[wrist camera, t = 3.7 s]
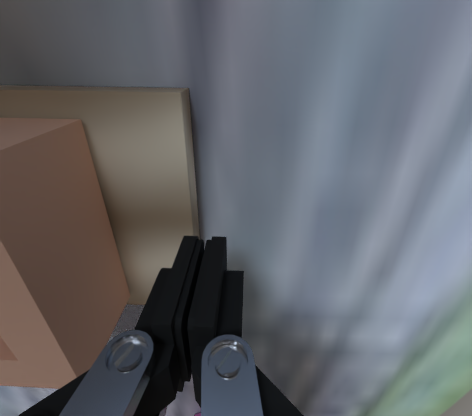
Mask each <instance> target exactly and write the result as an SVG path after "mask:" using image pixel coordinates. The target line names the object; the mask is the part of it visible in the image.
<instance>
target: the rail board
mask: <svg viewBox="0 0 472 416" xmlns="http://www.w3.org/2000/svg"><path fill="white" fill-rule="evenodd" d="M0 118H44V119H81V122H82V125H83V129H84V132H85V136H86V139H87V143H88V146H89V150H90V154H91V157H92V161H93V164H94V168H95V171H96V175H97V179H98V182H99V186H100V189H101V193H102V196H103V200H104V203H105V207H106V211H107V214H108V218H109V221H110V225H111V228H112V232H113V236H114V239H115V243H116V246H117V250H118V253H119V257H120V260H121V264H122V268H123V271H124V275H125V278H126V282H127V285H128V289H129V293H130V298H129V300H128V302H127V304H134V305H145V304H146V301H147V299H148V297H149V294H150V292H151V290H152V287H153V285H154V283H155V280H156V278H157V276H158V273H159V271H160V269H161V268H172V266H173V263H174V260H175V257H176V255H177V252H178V249H179V247H180V244H181V241H182V239H183V236H198V237H199V240H200V233H199V219H198V206H197V193H196V180H195V166H194V153H193V140H192V126H191V113H190V100H189V88H151V87H86V86H20V85H0Z"/></svg>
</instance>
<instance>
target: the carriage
mask: <svg viewBox="0 0 472 416" xmlns="http://www.w3.org/2000/svg"><path fill="white" fill-rule="evenodd" d="M129 298H130V293H129V289H128V285H127V282H126V278H125V275H124V271H123V268H122V264H121V260H120V257H119V253H118V250H117V246H116V243H115V239H114V236H113V232H112V228H111V225H110V221H109V218H108V214H107V211H106V207H105V203H104V200H103V196H102V193H101V189H100V186H99V182H98V179H97V175H96V171H95V168H94V164H93V161H92V157H91V154H90V150H89V146H88V143H87V139H86V136H85V132H84V129H83V125H82V122H81V119H44V118H0V385H1V386H19V387H37V388H55V389H60V388H61V387H63V386H64V385H66V384H68V383H69V382H71V381H72V380H74V379H75V378H77V377H78V376H80V375H81V374H83V373H85V372H86V371H88V370H89V369H90V368H91V366H92V365H93V363H94V362H95V360H96V359H97V357H98V356H99V354H100V353H101V351H102V350H103V348H104V347H105V346H106V344H107V342H108V340H109V338H110V336H111V334H112V332H113V330H114V328H115V326H116V324H117V322H118V320H119V318H120V316H121V314H122V312H123V310H124V308H125V306H126V304H127V302H128V300H129Z"/></svg>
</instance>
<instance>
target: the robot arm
mask: <svg viewBox="0 0 472 416" xmlns="http://www.w3.org/2000/svg"><path fill="white" fill-rule="evenodd" d="M243 275H244V271H227V249H226V237H212V240H207V241H206V245H205V250H204V241H203V240H199V237H198V236H183V239H182V241H181V244H180V247H179V249H178V252H177V255H176V257H175V260H174V263H173V266H172V268H161V269H160V271H159V273H158V276H157V278H156V280H155V283H154V285H153V287H152V290H151V292H150V294H149V297H148V299H147V301H146V304H145V306H144V308H143V311H142V313H141V316H140V318H139V320H138V323H137V325H136V327H135V330H130V331H125V332H123V333H121V334H119V335H117V336H115V337H114V338H113V339H112V340H110V341H109V342H108V344H107V345H106V346H105V347H104V348H103V350H102V351H101V353H100V354H99V356H98V357H97V359H96V360H95V362H94V363H93V365H92V366H91V368H90V369H89V370H88V371H86V372H85V373H83V374H81V375H80V376H78V377H77V378H75V379H74V380H72V381H71V382H69V383H68V384H66V385H64V386H63V387H61V388H60V389H58V390H57V391H55V392H54V393H52V394H51V395H49V396H47V397H46V398H44V399H43V400H41V401H40V402H38V403H37V404H35V405H34V406H32V407H30V408H29V409H27V410H26V411H24V412H23V413H21V414H20V415H19V416H165V413H166V409H167V406H168V405H169V404H170V403H171V402H172V401H173V400H175V398H176V393H177V391H178V392H183V387H184V382H185V381H190V379H191V374H192V376H193V384H194V391H195V399H196V401H197V403H198V404H199V406H200V407H201V416H303V415H302V414H301V413H300V412H299V411H298V410H297V408H296V407H295V406H294V405H293V404H292V403H291V402H290V401H289V400H288V399H287V398H286V397H285V396H284V395H283V394H282V393H281V392H280V391H279V389H278V388H277V387H276V386H275V385H274V384H273V383H272V382H271V381H270V380H269V379H268V378H267V377H266V376H265V375H264V374H263V373H262V372H261V371H260V369H259V368H258V367H257V366H256V365H255V362H254V356H253V353H252V349H251V347H250V346H249V345H248V343H247V342H246V341H245V340H243V339H242V306H243Z"/></svg>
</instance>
